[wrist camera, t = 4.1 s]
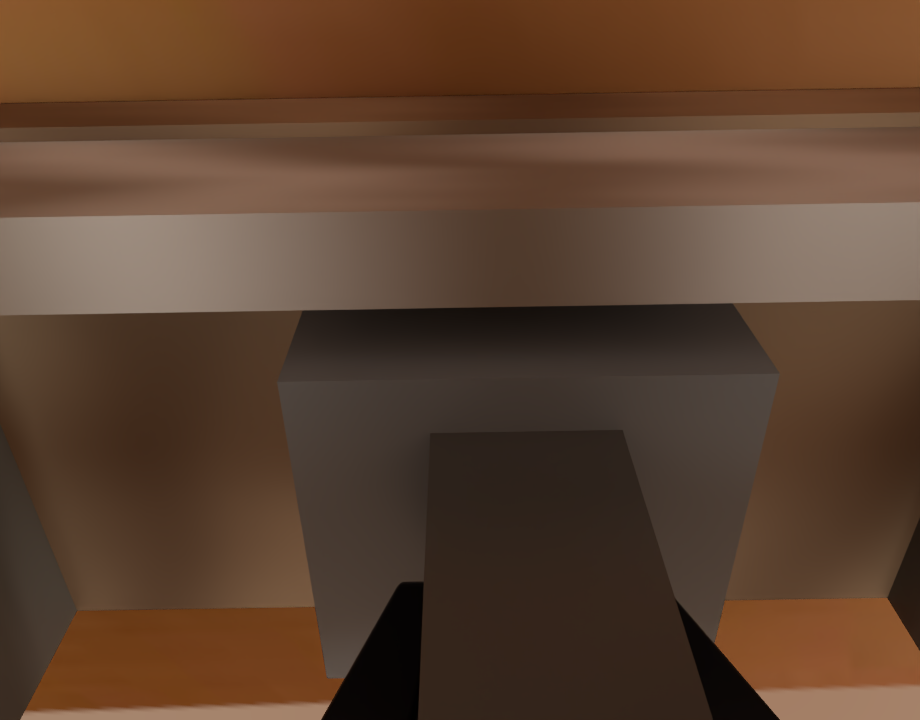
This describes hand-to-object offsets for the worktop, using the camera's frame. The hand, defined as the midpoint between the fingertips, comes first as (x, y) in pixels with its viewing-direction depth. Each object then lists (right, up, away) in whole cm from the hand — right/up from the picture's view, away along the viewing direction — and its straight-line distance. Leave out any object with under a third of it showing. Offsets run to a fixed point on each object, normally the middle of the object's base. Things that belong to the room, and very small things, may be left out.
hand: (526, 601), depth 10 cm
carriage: (0, +2, +3) cm, 4 cm away
